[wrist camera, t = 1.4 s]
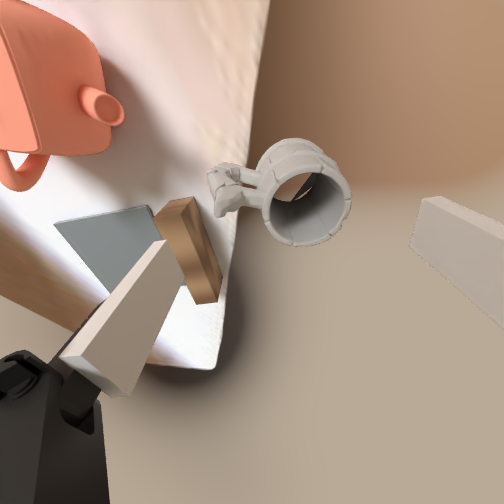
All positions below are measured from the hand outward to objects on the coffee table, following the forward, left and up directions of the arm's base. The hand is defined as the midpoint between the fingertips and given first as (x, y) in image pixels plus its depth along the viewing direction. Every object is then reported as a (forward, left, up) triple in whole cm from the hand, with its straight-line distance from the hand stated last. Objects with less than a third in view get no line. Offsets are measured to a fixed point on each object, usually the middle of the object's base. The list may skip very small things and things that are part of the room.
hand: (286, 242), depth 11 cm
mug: (0, 0, -14) cm, 14 cm away
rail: (+7, -11, -14) cm, 19 cm away
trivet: (+7, -22, -14) cm, 27 cm away
